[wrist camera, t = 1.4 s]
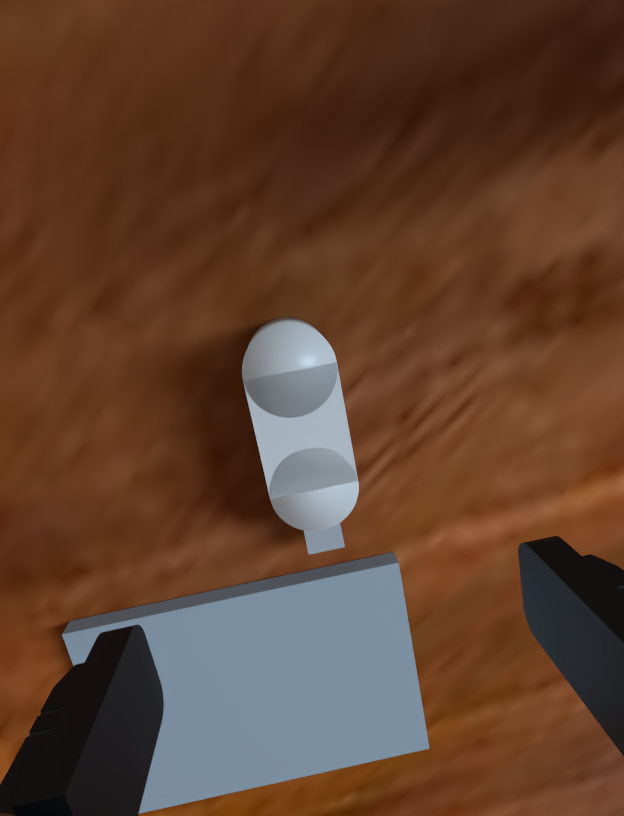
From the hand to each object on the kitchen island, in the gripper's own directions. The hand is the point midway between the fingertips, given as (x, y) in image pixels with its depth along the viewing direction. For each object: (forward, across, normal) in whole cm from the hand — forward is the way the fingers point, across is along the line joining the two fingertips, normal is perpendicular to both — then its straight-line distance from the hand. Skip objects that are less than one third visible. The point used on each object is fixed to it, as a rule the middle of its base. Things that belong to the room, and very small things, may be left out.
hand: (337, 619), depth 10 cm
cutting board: (+18, +6, +17) cm, 26 cm away
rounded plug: (+18, 0, +1) cm, 18 cm away
